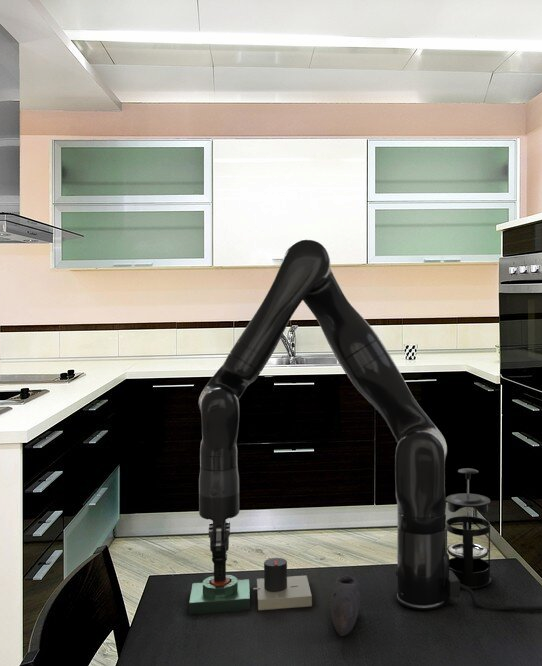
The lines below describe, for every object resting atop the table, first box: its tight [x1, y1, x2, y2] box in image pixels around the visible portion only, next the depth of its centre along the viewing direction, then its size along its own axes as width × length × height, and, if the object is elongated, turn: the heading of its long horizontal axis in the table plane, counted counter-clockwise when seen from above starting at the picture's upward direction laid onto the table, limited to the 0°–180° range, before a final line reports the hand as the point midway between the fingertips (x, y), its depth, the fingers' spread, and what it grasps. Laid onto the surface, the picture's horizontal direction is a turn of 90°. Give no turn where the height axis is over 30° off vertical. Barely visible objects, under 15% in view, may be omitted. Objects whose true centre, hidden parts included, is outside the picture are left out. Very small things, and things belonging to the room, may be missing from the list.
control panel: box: [252, 574, 313, 611], centre depth 131 cm, size 11×10×2 cm
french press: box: [445, 467, 492, 591], centre depth 139 cm, size 12×9×23 cm
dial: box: [263, 557, 288, 592], centre depth 131 cm, size 4×4×5 cm
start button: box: [211, 577, 230, 586], centre depth 129 cm, size 4×4×2 cm
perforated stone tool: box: [330, 570, 361, 637], centre depth 120 cm, size 15×5×7 cm, turn 175°
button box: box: [188, 574, 251, 615], centre depth 129 cm, size 11×9×4 cm
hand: (219, 579), depth 129 cm, fingers closed
